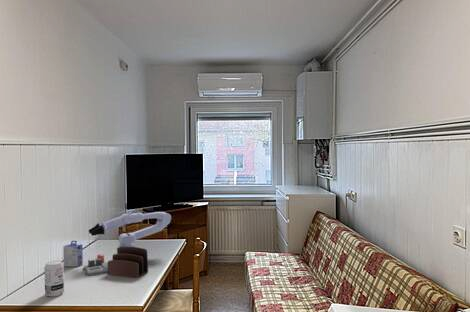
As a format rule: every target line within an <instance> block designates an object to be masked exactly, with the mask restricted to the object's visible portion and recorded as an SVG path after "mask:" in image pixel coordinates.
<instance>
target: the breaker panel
mask: <svg viewBox="0 0 470 312" xmlns="http://www.w3.org/2000/svg"><path fill="white" fill-rule="evenodd" d="M83 269H84V270H85V272H86V273H87V275H88V276H89V277H90V276H96V275H101V274H106V273H107V274H108V261H107V262H104V263H102V265H96V264H95V266H91V267H89V265H88V264H87V265H84V266H83Z"/></svg>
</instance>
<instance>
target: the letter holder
mask: <svg viewBox="0 0 470 312" xmlns="http://www.w3.org/2000/svg"><path fill="white" fill-rule="evenodd" d="M107 263H108V273H107V275H108V276H118V277H124V278H125V277H127V278H135V279H137V278H138V279H139V278H140V277H142V276H144V274H145V275H146V274H147V273H149V261H148V250H147V249H145V248H142V247H139V246H135V247H117V248H116V253H114V254H113V255H112V260H111V259H110V260H108V261H107Z"/></svg>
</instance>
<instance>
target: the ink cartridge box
mask: <svg viewBox="0 0 470 312" xmlns="http://www.w3.org/2000/svg"><path fill="white" fill-rule="evenodd" d="M62 248H63V249H62V251H63V262H62V263H63V265H64V267H76V268H77V267H80V266H83V263H84V262H83V261H84V260H83V259H84V258H83V255H84V254H83V244H78V241H77V240H71V241H70V243H68V244H65V245H63V247H62Z"/></svg>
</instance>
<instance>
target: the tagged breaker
mask: <svg viewBox="0 0 470 312" xmlns="http://www.w3.org/2000/svg"><path fill="white" fill-rule="evenodd" d="M87 262H88V263H87V265H89V267H91V266H95V259H94V258H92V259H87Z"/></svg>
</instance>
